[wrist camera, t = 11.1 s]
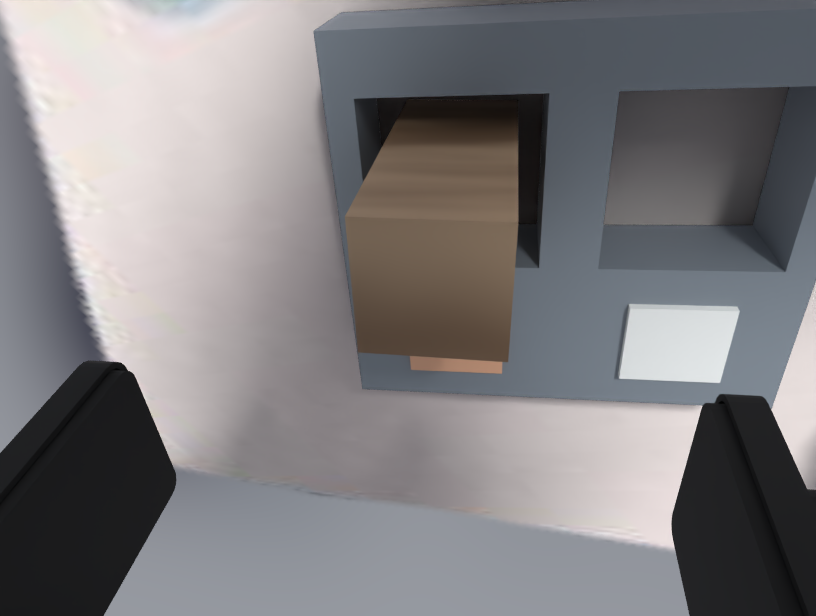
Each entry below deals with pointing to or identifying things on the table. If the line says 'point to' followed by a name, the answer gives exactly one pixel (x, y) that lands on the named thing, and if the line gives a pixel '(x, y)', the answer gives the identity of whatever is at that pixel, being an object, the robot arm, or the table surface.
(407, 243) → the plug
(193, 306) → the table surface
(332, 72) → the socket block
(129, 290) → the table surface
